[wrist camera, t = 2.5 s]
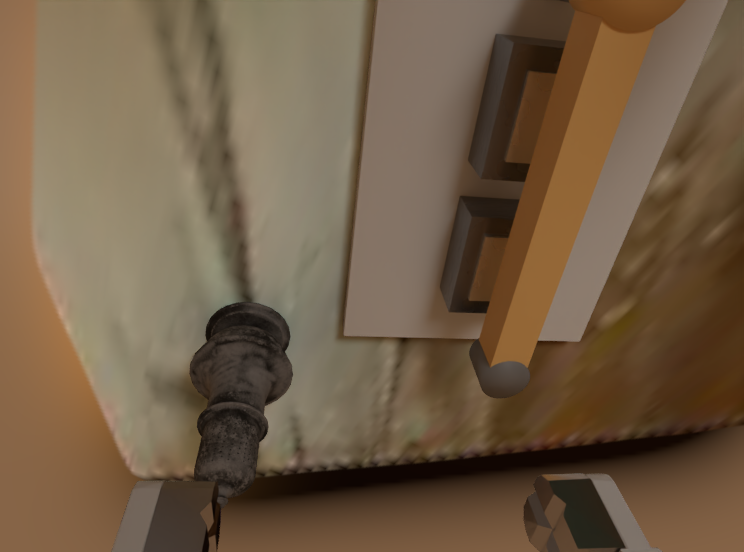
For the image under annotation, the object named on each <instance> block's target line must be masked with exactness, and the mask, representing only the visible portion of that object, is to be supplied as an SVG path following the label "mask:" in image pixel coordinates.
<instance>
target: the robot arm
mask: <svg viewBox="0 0 744 552" xmlns="http://www.w3.org/2000/svg"><path fill="white" fill-rule="evenodd" d="M533 485H534V488H535V490H536V492H534V493H533V494H531V495H530V496H528V497H527V500H526V502H525V505H524V524H525V529H526V533H527V536H528V538H529V541H530V543H531V544H532V545H533V546H534V547H535V548H537V549H538V550H539V551H540V552H662V551H661V550H660V549H659V548H651V547H650V545H649V543H648V541H647V539H646V538H645V536H644V534H643V532H642V531H641V529H640V527H639V525H638V524H637V522H636V520H635V518H634V516H633V515H632V513H631V511H630V509H629V508H628V506H627V504H626V502H625V501H624V499H623V497H622V495H621V493H620V492H619V490H618V488H617V486H616V485H615V483H614V481H613V479H612V478H611V477H610V476H609V475H607V474H556V475H540V476H539V477H537V478H536V480H535V482H534V484H533ZM218 493H219V487H218V481H138V482H137V483H136V484H135V486H134V488H133V489H132V491H131V494H130V497H129V500H128V503H127V506H126V509H125V512H124V515H123V518H122V521H121V524H120V527H119V530H118V533H117V536H116V539H115V542H114V545H113V548H112V551H111V552H217V549H218V542H219V534H220V523H221V508H220V503H218V502H217V499H218Z"/></svg>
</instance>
